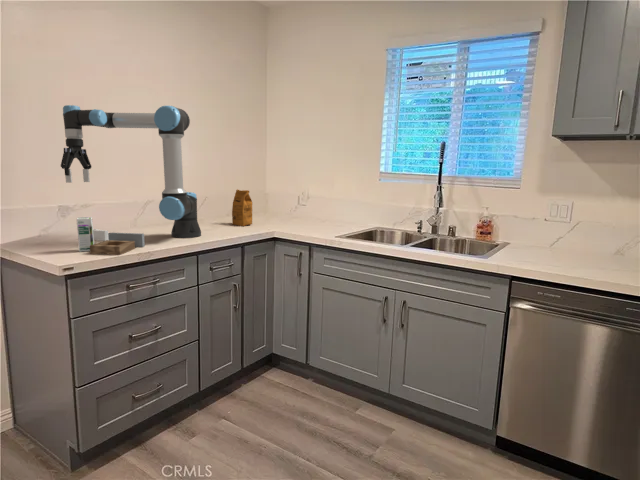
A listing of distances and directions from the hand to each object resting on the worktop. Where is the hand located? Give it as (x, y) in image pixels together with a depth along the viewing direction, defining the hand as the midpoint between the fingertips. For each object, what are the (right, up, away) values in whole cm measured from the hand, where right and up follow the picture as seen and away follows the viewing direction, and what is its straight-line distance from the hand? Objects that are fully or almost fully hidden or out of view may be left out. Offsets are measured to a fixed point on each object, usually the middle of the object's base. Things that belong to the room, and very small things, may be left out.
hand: (78, 182), depth 219 cm
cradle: (+30, -34, -26) cm, 52 cm away
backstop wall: (+31, -31, -15) cm, 46 cm away
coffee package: (+71, -19, +58) cm, 94 cm away
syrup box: (+18, -33, -25) cm, 46 cm away
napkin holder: (+10, -29, +1) cm, 31 cm away
